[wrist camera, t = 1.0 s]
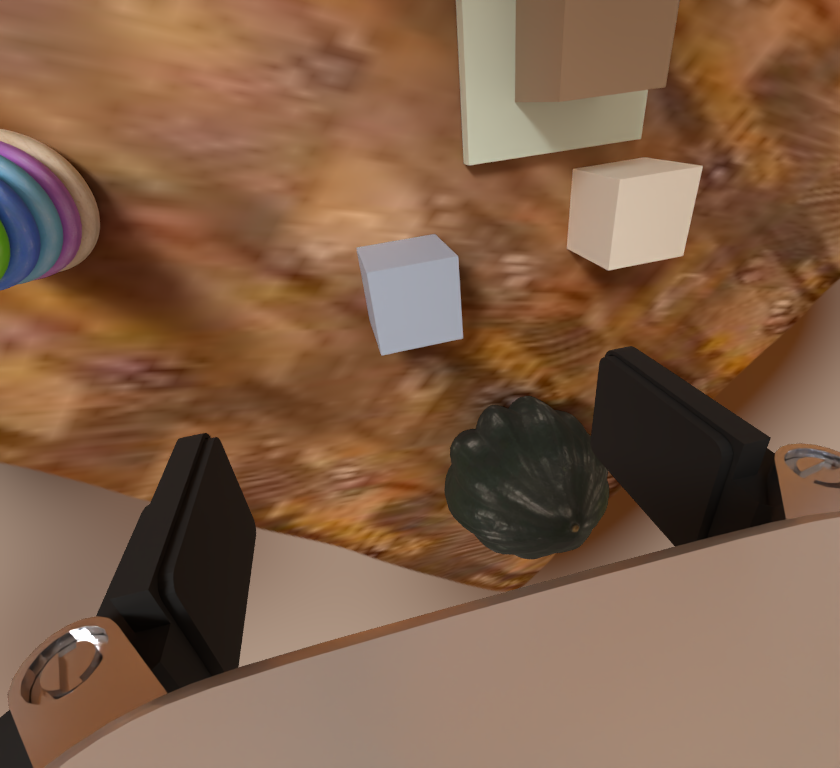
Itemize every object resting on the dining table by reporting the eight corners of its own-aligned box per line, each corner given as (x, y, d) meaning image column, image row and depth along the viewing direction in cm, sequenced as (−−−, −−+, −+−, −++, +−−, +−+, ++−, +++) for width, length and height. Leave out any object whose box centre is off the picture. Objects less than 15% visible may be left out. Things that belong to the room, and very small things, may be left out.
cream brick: (572, 168, 33) (620, 179, 28) (644, 157, 34) (702, 165, 29) (566, 248, 37) (608, 270, 32) (632, 236, 38) (683, 255, 33)
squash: (509, 560, 48) (639, 598, 36) (397, 520, 42) (507, 549, 29) (537, 437, 53) (661, 433, 40) (440, 384, 47) (551, 360, 34)
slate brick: (356, 247, 33) (366, 272, 28) (434, 233, 34) (458, 256, 29) (370, 321, 36) (381, 355, 31) (441, 307, 37) (463, 338, 32)
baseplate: (451, -100, 24) (500, -166, 18) (664, -115, 26) (773, -180, 20) (463, 163, 31) (502, 177, 25) (630, 137, 33) (703, 145, 27)
